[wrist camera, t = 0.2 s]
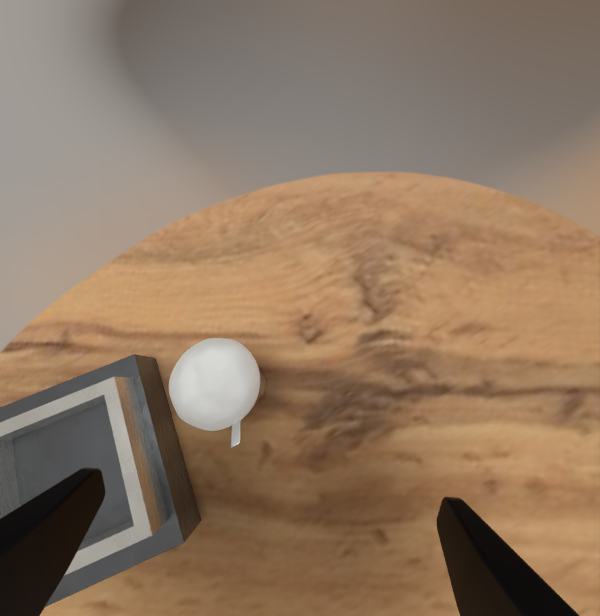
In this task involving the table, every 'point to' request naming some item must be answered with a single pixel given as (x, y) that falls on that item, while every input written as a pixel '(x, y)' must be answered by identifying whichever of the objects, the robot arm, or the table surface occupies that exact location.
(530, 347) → the table surface
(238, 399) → the milkshake
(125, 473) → the grey open rectangular box
